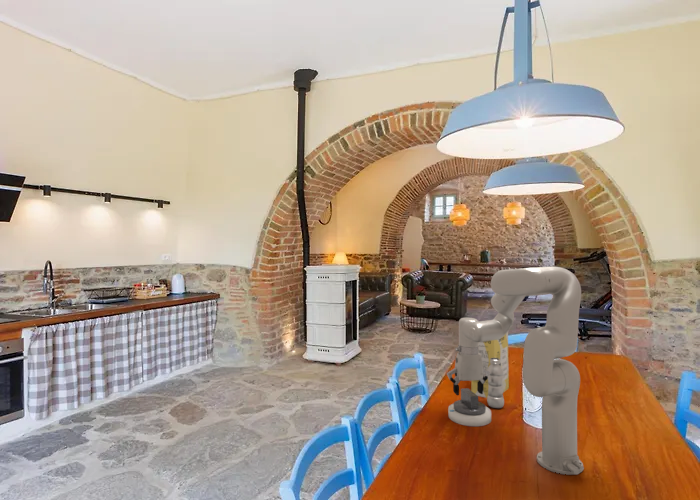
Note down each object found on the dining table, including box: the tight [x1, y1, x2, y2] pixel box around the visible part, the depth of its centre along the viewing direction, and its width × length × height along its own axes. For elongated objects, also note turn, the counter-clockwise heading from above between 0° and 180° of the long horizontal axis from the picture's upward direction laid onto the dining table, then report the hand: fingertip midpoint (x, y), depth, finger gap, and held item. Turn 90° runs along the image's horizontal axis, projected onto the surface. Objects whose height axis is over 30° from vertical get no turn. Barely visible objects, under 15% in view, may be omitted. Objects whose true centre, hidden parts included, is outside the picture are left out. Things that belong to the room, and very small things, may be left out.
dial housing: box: [447, 403, 492, 427], centre depth 159 cm, size 16×16×3 cm
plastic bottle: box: [486, 358, 505, 409], centre depth 169 cm, size 6×7×20 cm
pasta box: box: [470, 331, 510, 399], centre depth 188 cm, size 18×10×28 cm, turn 141°
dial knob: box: [453, 387, 487, 415], centre depth 159 cm, size 12×12×6 cm
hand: (468, 393), depth 160 cm, fingers open, 9 cm apart
